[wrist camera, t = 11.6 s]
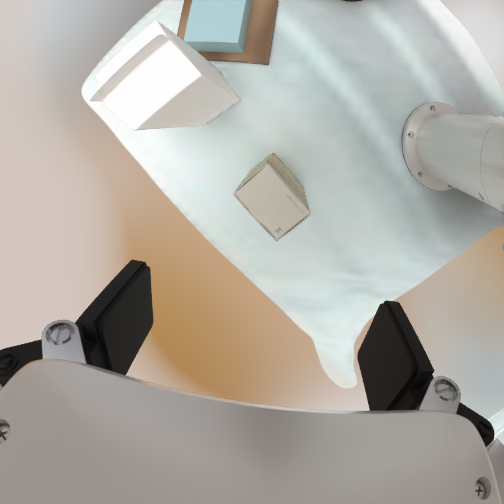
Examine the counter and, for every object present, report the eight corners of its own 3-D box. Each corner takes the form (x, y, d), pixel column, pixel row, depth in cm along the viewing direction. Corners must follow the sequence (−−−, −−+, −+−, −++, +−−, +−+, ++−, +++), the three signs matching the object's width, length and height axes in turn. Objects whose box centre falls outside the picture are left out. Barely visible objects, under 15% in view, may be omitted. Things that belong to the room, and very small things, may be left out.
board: (278, 1, 26) (277, -3, 24) (268, 65, 30) (267, 62, 29) (188, -1, 26) (185, -5, 25) (176, 60, 30) (173, 57, 29)
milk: (178, 93, 32) (66, 71, 12) (215, 65, 30) (134, 3, 11) (203, 127, 34) (108, 135, 14) (242, 100, 32) (186, 65, 12)
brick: (252, 1, 25) (248, -15, 20) (243, 53, 28) (237, 43, 24) (206, 0, 25) (196, -15, 20) (195, 51, 28) (183, 41, 24)
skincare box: (303, 187, 36) (314, 215, 25) (277, 208, 38) (277, 244, 27) (272, 150, 35) (269, 161, 24) (246, 172, 36) (231, 194, 25)
